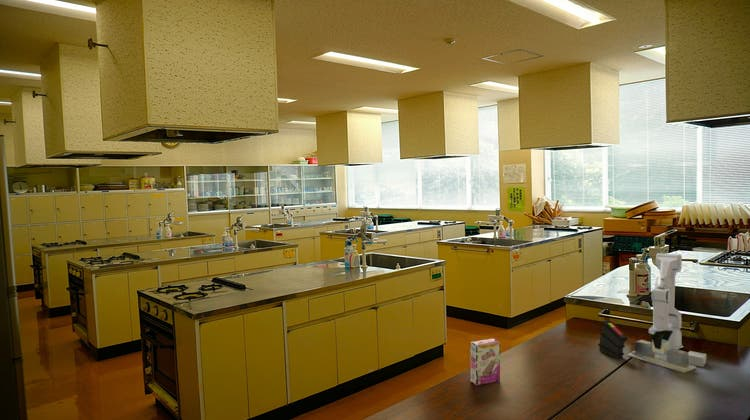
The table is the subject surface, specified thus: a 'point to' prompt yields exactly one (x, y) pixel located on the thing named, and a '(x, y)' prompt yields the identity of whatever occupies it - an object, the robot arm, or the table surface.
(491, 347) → the candy bar box
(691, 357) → the block
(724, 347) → the table surface
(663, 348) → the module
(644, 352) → the rail panel
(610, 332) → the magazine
